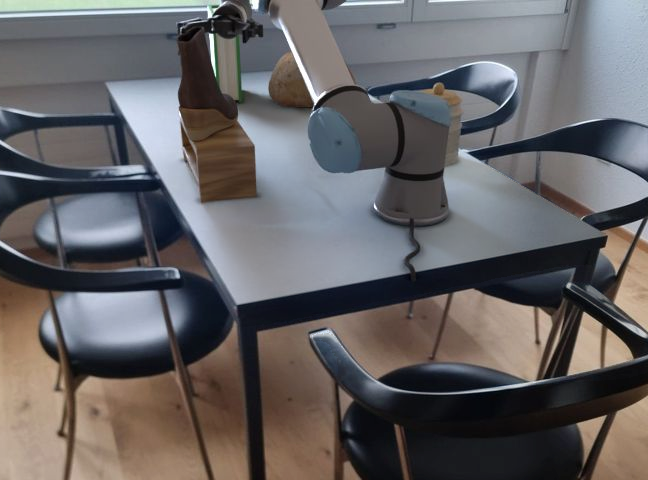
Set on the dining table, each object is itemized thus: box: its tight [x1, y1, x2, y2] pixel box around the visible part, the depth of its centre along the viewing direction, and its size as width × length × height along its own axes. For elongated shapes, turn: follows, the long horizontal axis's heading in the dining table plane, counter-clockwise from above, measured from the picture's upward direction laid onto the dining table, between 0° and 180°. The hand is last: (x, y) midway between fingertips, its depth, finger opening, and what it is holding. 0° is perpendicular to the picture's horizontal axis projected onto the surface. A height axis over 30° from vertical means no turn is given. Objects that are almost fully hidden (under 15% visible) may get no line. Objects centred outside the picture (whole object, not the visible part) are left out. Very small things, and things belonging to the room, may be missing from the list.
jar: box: [420, 82, 465, 166], centre depth 165 cm, size 13×13×18 cm
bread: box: [267, 49, 357, 108], centre depth 208 cm, size 26×23×15 cm
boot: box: [175, 27, 239, 142], centre depth 145 cm, size 9×24×20 cm, turn 169°
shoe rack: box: [178, 111, 258, 203], centre depth 155 cm, size 28×12×11 cm, turn 17°
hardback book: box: [206, 4, 243, 104], centre depth 208 cm, size 18×7×24 cm, turn 12°
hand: (213, 35), depth 154 cm, fingers open, 13 cm apart
